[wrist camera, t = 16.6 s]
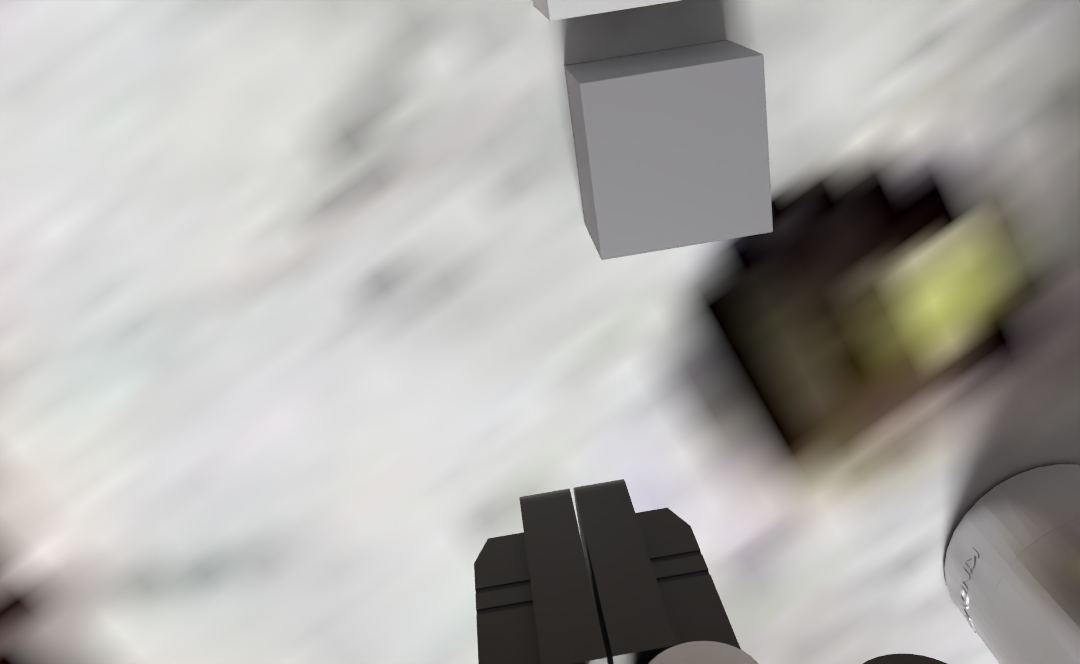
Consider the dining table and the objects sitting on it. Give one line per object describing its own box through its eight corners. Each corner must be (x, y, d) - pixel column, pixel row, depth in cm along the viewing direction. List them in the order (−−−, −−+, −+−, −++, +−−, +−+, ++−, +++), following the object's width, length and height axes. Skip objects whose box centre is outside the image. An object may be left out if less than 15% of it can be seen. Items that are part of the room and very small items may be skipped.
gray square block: (726, 40, 36) (763, 54, 32) (737, 198, 39) (772, 231, 34) (564, 65, 36) (579, 83, 32) (584, 223, 38) (601, 259, 34)
